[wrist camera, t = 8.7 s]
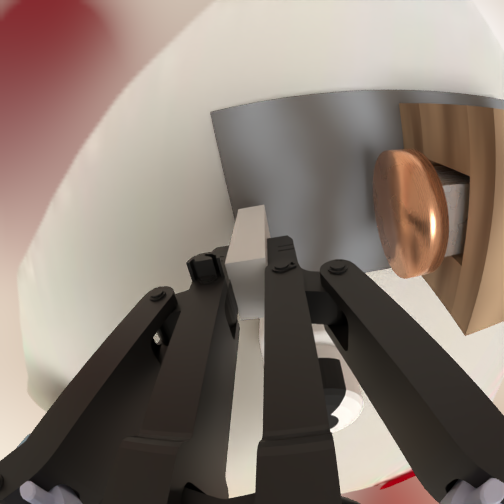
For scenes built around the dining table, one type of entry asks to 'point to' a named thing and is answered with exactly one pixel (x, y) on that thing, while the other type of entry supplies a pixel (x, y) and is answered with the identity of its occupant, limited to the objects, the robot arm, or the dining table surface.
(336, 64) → the dining table surface
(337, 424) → the medicine bottle
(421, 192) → the shaft
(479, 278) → the bearing block
